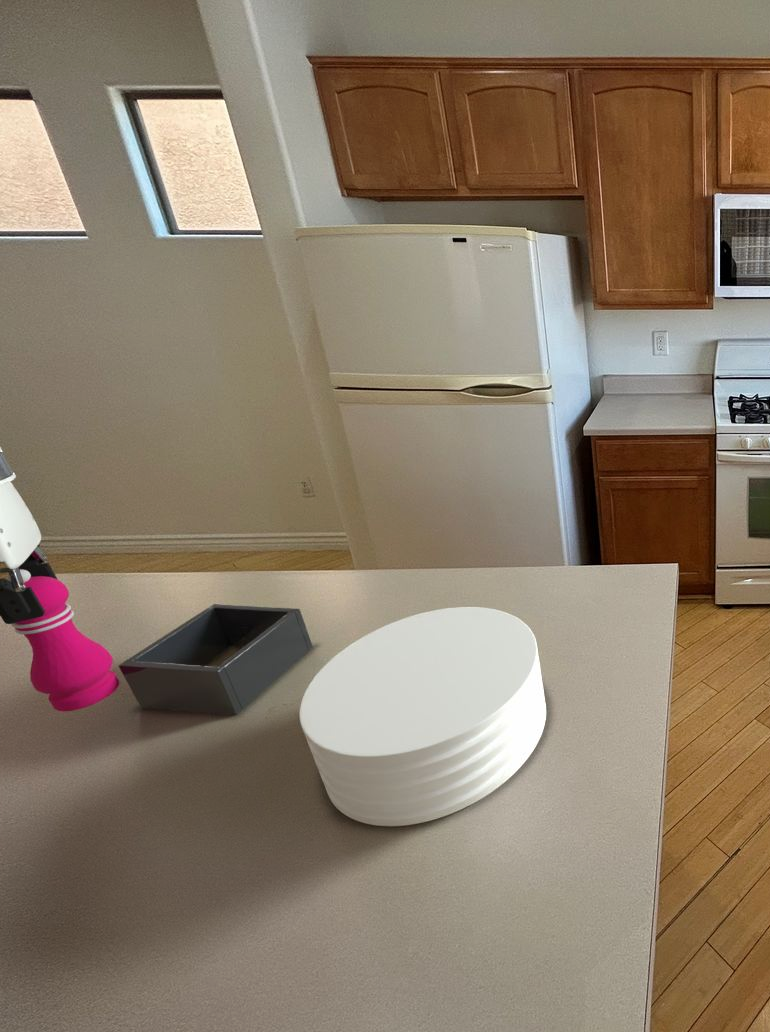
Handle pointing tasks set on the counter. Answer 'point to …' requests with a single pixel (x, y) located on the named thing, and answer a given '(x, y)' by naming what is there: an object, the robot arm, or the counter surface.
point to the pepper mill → (64, 651)
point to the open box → (187, 649)
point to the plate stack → (425, 714)
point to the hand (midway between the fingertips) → (35, 604)
